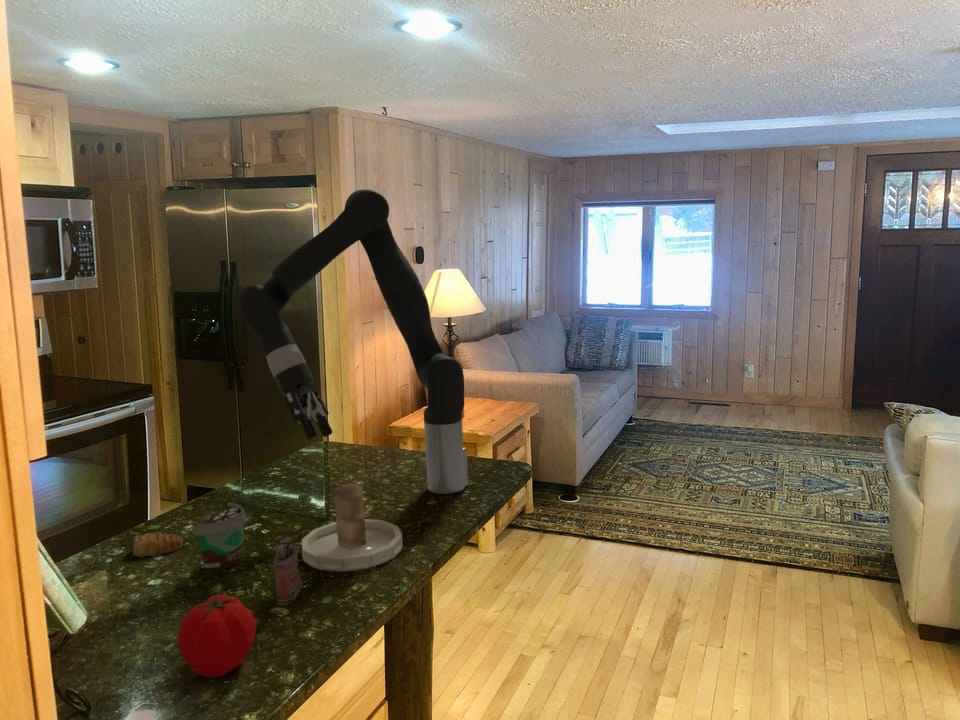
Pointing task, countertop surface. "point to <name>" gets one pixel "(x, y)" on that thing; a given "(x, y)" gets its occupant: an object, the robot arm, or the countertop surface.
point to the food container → (222, 538)
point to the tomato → (216, 635)
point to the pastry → (156, 544)
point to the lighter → (286, 572)
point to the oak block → (350, 516)
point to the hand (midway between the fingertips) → (321, 436)
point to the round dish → (330, 556)
